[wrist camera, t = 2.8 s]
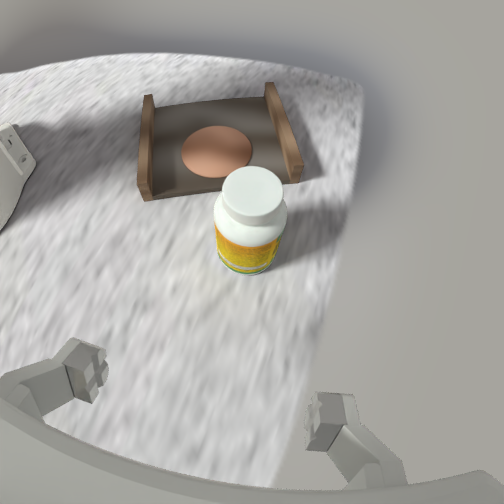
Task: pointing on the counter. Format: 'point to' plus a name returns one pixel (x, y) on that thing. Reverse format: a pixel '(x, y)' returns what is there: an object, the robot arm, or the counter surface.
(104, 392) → the counter surface
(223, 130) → the walled bay
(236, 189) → the supplement bottle
